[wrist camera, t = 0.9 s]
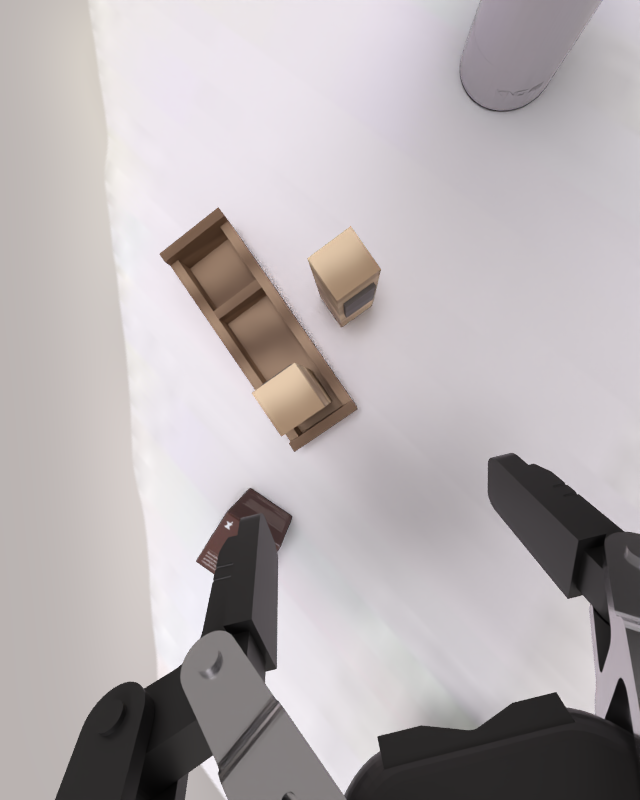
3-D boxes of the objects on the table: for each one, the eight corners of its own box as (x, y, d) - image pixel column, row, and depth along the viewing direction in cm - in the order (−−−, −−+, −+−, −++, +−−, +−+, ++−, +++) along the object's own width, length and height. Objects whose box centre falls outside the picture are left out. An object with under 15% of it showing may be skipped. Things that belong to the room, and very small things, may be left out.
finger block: (320, 297, 36) (307, 258, 25) (350, 275, 36) (350, 226, 25) (343, 330, 36) (340, 305, 25) (374, 308, 36) (384, 273, 25)
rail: (182, 269, 37) (103, 214, 25) (234, 229, 37) (178, 152, 25) (301, 443, 37) (277, 471, 25) (356, 406, 36) (359, 415, 24)
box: (223, 527, 38) (193, 561, 31) (250, 486, 38) (226, 509, 30) (266, 558, 38) (246, 599, 31) (294, 516, 37) (280, 547, 30)
